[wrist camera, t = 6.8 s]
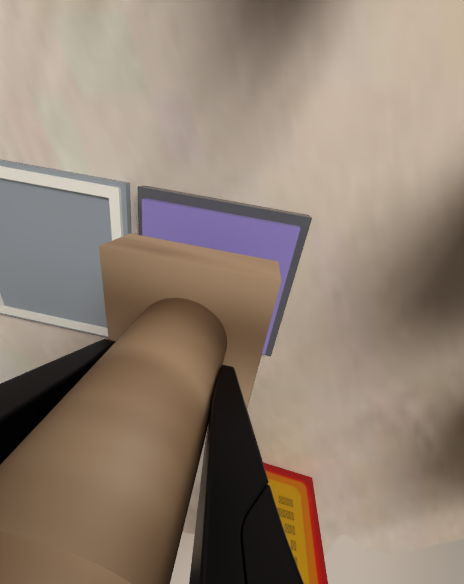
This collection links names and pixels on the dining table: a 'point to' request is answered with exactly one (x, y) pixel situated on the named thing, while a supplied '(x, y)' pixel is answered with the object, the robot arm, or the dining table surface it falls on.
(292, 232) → the ink pad
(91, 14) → the dining table surface
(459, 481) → the dining table surface
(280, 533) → the robot arm
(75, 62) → the dining table surface
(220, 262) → the stamp
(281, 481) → the baking soda box
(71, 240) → the print card
